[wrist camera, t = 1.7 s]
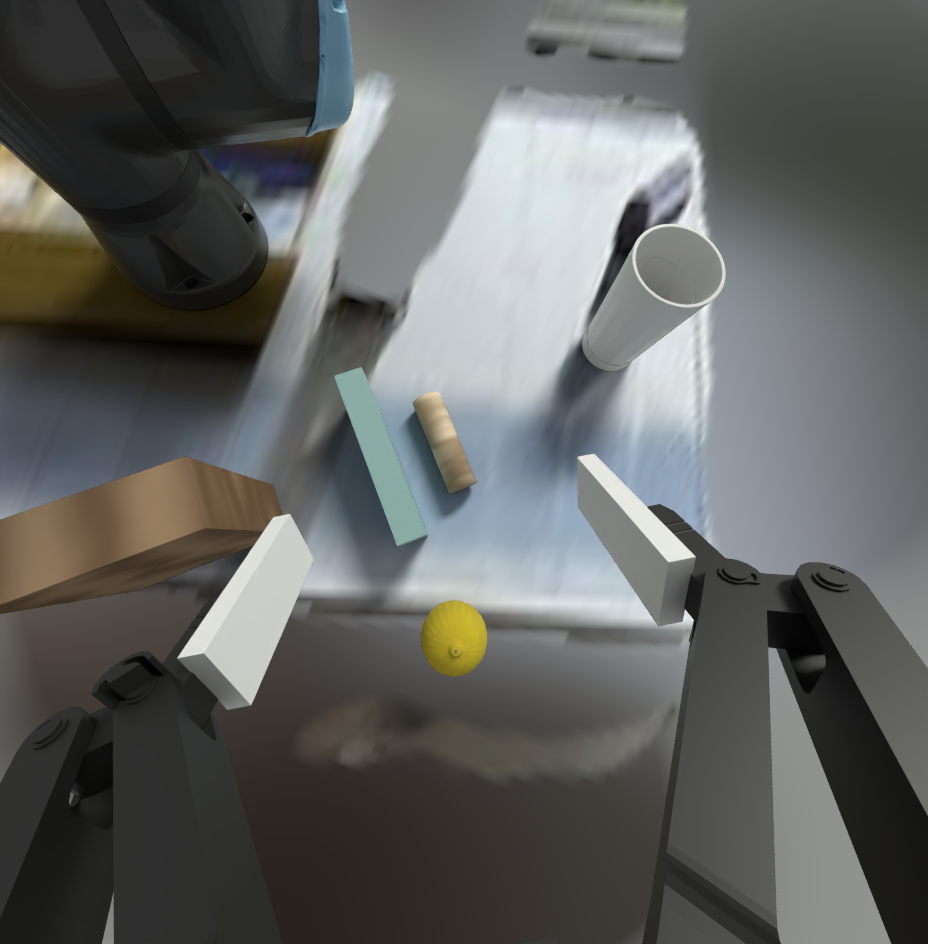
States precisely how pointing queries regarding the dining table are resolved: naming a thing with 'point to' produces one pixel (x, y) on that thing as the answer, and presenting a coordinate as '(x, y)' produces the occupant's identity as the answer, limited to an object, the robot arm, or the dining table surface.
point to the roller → (444, 442)
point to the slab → (130, 533)
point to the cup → (653, 294)
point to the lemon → (454, 638)
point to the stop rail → (381, 457)
